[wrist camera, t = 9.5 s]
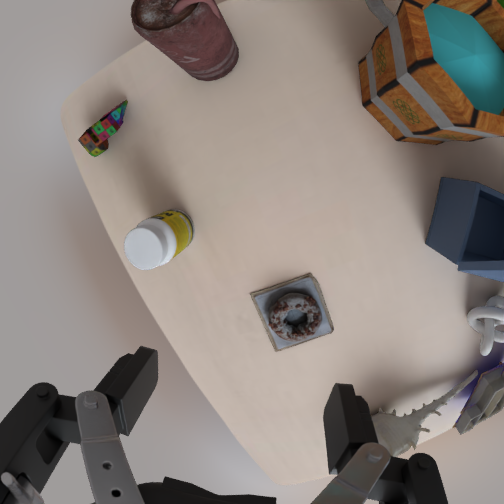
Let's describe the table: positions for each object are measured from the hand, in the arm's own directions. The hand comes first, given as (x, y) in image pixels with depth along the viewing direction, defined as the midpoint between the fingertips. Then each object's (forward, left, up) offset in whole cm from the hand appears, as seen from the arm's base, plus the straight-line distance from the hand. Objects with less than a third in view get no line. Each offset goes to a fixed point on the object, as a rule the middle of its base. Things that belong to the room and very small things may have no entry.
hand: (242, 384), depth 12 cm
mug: (-24, +10, -22) cm, 34 cm away
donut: (+7, +4, -22) cm, 23 cm away
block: (-12, -22, -20) cm, 32 cm away
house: (+14, +40, -16) cm, 45 cm away
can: (-20, -10, -22) cm, 31 cm away
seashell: (+20, +26, -22) cm, 40 cm away
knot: (+3, +31, -22) cm, 38 cm away
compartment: (-8, +24, -22) cm, 33 cm away
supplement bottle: (0, -11, -22) cm, 24 cm away
